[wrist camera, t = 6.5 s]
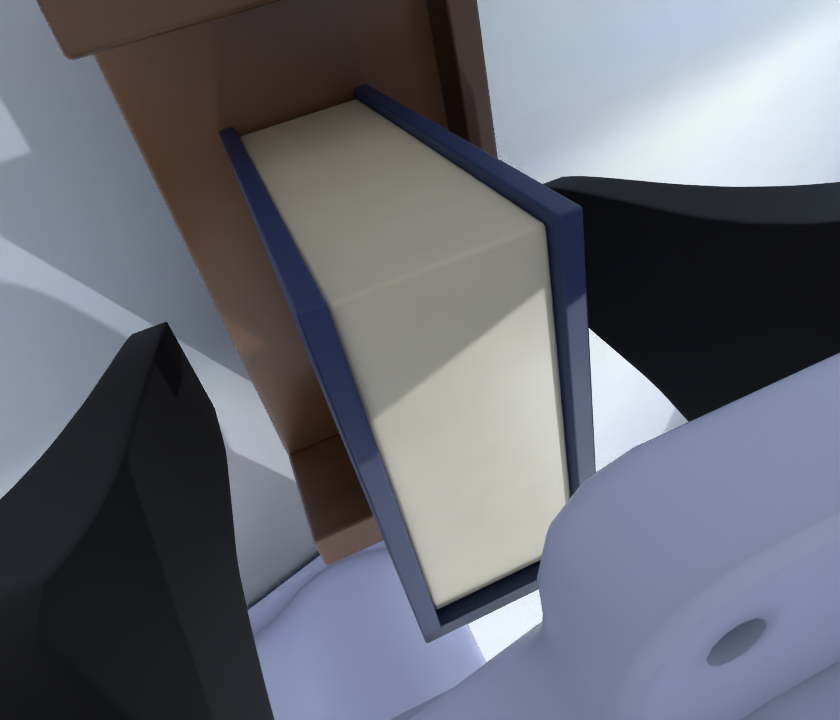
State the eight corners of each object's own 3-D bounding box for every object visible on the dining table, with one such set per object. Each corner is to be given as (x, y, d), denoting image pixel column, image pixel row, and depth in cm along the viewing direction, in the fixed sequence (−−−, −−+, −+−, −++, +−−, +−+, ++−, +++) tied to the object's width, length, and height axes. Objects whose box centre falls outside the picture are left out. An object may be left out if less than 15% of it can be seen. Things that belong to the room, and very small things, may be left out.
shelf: (275, 398, 20) (326, 567, 14) (73, -37, 13) (18, -31, 7) (459, 325, 21) (571, 456, 15) (368, -113, 14) (520, -159, 8)
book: (315, 375, 15) (426, 645, 9) (217, 130, 11) (296, 314, 6) (427, 331, 16) (601, 559, 10) (367, 83, 12) (584, 205, 6)
